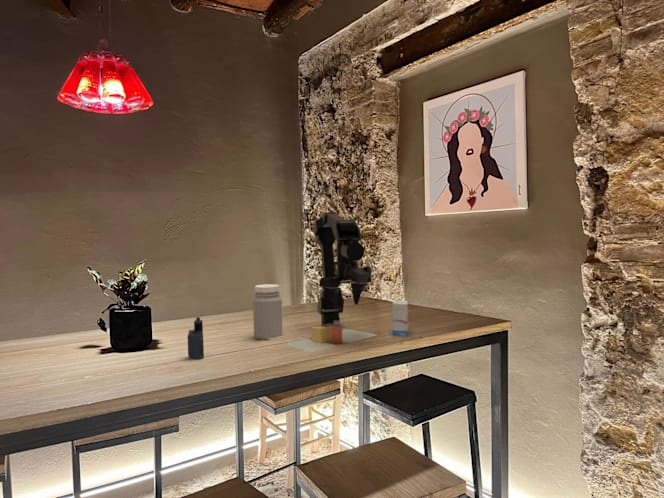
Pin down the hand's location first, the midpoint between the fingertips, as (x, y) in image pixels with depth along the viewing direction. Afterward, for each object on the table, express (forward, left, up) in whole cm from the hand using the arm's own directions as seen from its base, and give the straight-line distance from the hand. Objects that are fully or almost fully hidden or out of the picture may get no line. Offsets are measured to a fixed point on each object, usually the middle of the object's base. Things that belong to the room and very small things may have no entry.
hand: (346, 306), depth 156 cm
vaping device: (-20, -43, -12) cm, 49 cm away
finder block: (-4, -6, -11) cm, 13 cm away
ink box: (+8, +18, -12) cm, 23 cm away
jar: (-25, -13, -12) cm, 31 cm away
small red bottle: (+2, -6, -11) cm, 12 cm away
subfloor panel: (-3, -4, -12) cm, 13 cm away
